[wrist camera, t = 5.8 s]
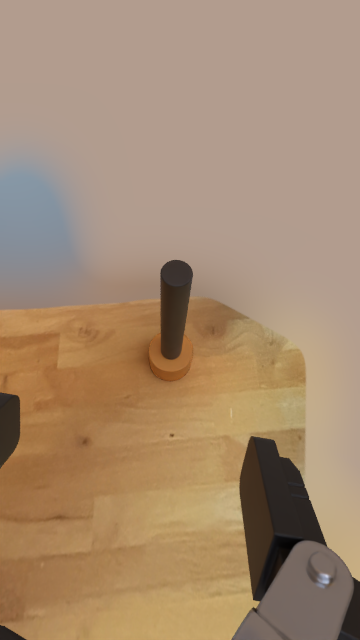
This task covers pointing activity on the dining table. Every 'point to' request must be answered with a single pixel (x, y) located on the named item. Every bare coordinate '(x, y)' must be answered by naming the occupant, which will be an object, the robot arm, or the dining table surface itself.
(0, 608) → the dining table surface
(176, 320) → the plunger
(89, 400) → the dining table surface
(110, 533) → the dining table surface
